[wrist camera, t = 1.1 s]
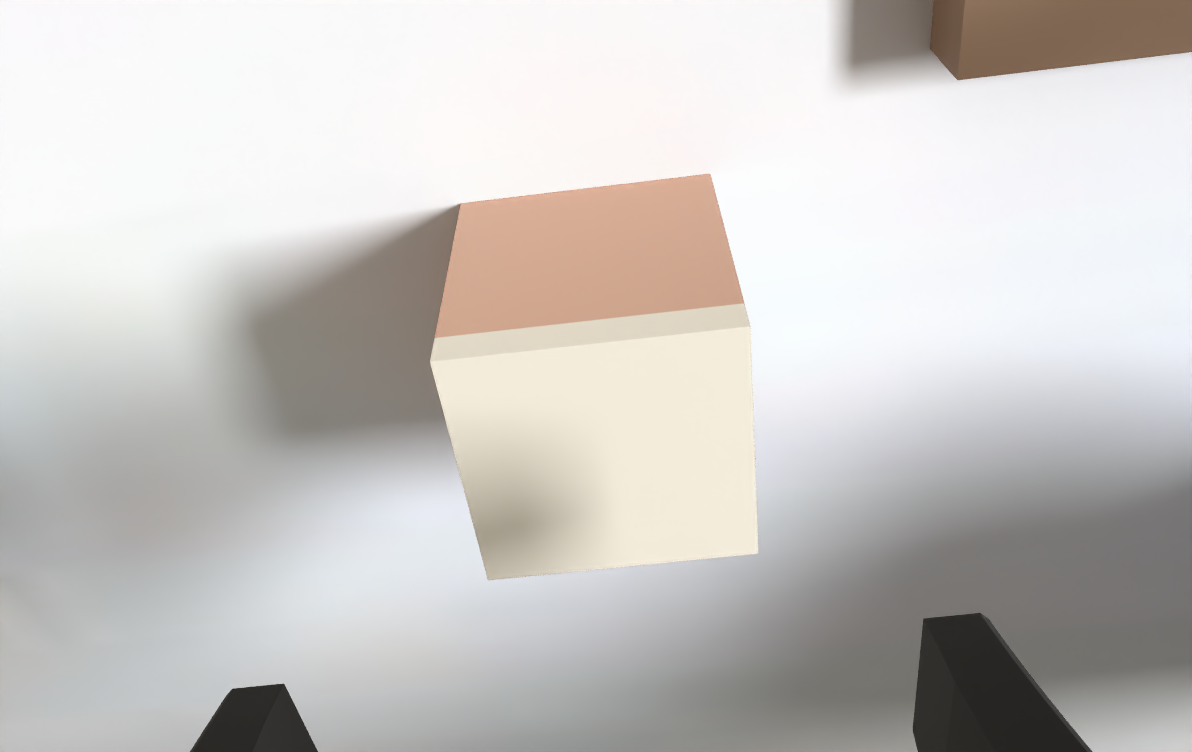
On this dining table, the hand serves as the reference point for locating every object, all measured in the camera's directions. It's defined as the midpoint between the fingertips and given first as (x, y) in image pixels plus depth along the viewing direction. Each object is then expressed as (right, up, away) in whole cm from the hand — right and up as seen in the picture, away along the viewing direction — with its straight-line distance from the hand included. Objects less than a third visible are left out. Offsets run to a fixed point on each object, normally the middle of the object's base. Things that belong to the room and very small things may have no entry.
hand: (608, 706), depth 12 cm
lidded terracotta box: (0, +5, +8) cm, 10 cm away
